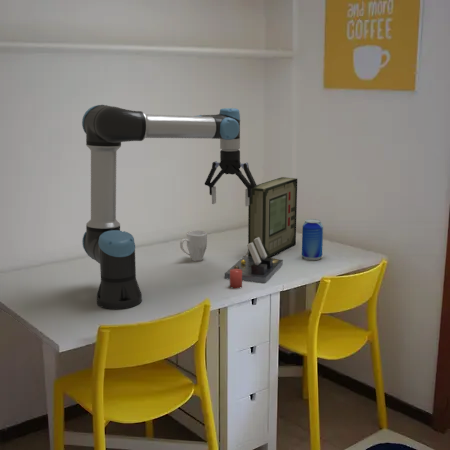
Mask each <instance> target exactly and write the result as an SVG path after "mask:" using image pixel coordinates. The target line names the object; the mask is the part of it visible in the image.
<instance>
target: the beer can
mask: <svg viewBox="0 0 450 450" xmlns="http://www.w3.org/2000/svg"><path fill="white" fill-rule="evenodd" d="M301 231H302V236H301V237H302V238H301V256H302V258H303V259H304V260H307V261H319V260H320V259H321V258H322V256H323V246H324V245H323V244H324V241H323V240H324V225H323V223H322V220H321V219H317V218H308V219H305V220H304V223H303V224H302V230H301Z"/></svg>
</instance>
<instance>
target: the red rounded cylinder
mask: <svg viewBox="0 0 450 450" xmlns="http://www.w3.org/2000/svg"><path fill="white" fill-rule="evenodd" d="M229 287H230V288H231V287H233V288H232V289H241V288H243V280H242V270H241V269H231V270H230V279H229ZM240 287H241V288H240Z"/></svg>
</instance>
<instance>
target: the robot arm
mask: <svg viewBox="0 0 450 450" xmlns="http://www.w3.org/2000/svg"><path fill="white" fill-rule="evenodd" d="M81 125H82V129H83V131H84V133H85V139H86V140H85V141H86V143H85V145H86V147H87V148H88V149H89V150H90V219H89V221H88V222H87V223H86V224H85V225H86V226H85V227H86V228H85V229H86V230H85V232H84V234H83V236H82V241H81V242H82V243H81V244H82V248H83V250H84V252H85V253H86V255H87V256H88V257H90V258H91V259H92V260H94V261H95V262H97V263H98V264H99V267H100V269H99V270H100V283H99V286H98V288H97V289H98V290H97V292H96V304H97V306H98V307H101V308H103V309H107V310H108V309H109V310H123V309H124V310H125V309H129V308H133V307H136V306H138V305H139V304H141V303H142V302H143V297H142V296H143V294H142V291H141V289H140V286H139V283H138V280H137V274H136V272H137V271H136V267H137V265H136V242H135V237H134V236H133V235H132V234H131V233H130V232H128V231H125V230H124V231H123V230H121V223H120V222H119V221H118V220H117V152H118V150H119V149H120V148H121V147H122V143H125V142H143V141H144V140H145V139H211V140H213V139H217V140H219V141H220V142H219V146H220V147H219V149H220V152H219V159H220V161H219V162H218V161H213V162H212V164H211V169H210V171H209V173H208V176H207V177H206V180H205V182H204V185H205V186H207V187H208V188H209V195H210V196H211V204H212V205H215V204H217V187H216V186H215V185H216V184H217V182H218V181H219V180H220V179H221V177H222V176H223V175H224V174H225V175H235V176H237V177H238V179H239V180H240V181H241V183H242V184H243V185H244V186H245V189H244V191H245V192H244V193H245V194H244V195H245V200H244V201H245V202H244V204H245V207H248V205H249V197H251V196H252V188H255V187H256V186H257V185H258V184H257V183H256V181H255V178H254V177H253V174H252V172H251V171H250V168H249V163H248V162H243V163H241V151H240V150H239V149H241V113H240V110H239V109H238V108H233V107H231V108H230V107H226V108H220V110H219V114H218V113H217V114H203V115H202V114H199V115H169V114H168V115H166V114H145V112H143V111H142V110H141V111H140V110H133V109H131V110H130V109H126V108H122V107H117V106H113V105H112V106H111V105H107V104H106V105H105V104H97V105H94V106H91V107H90V108H88V109H87V110H86V111H85V113H84V114H83V117H82V120H81ZM218 167H219V168H220V169H221V170H220V171H219V172H218V174H217V175H216V176H215V177H214V175H215V173H216V171H217V169H218ZM240 168H241V169H242V170H243V171H244V173H245V175H246V177H247V178H246V177H245V175H244V174H243V173H242V171H241V170H240ZM212 179H213V180H212Z"/></svg>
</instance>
